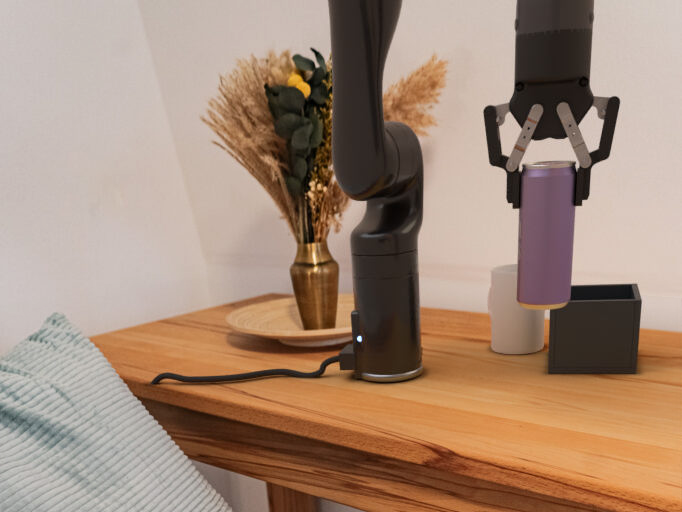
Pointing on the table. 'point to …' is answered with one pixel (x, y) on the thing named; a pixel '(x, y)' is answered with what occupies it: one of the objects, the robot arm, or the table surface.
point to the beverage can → (546, 234)
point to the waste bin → (596, 331)
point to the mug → (512, 316)
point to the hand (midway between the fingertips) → (547, 206)
